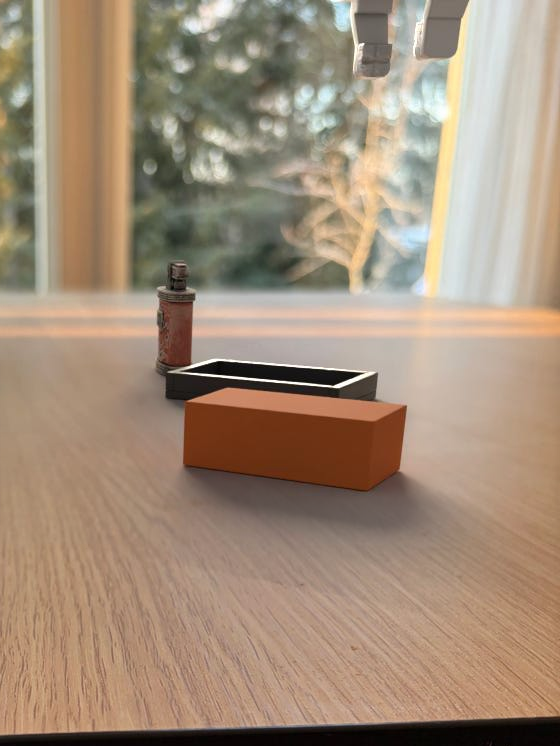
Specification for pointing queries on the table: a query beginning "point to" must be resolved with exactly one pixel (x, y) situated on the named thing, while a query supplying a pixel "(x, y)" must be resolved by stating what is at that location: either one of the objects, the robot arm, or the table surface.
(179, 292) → the lighter
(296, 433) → the block
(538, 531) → the table surface
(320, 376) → the frame
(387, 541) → the table surface
